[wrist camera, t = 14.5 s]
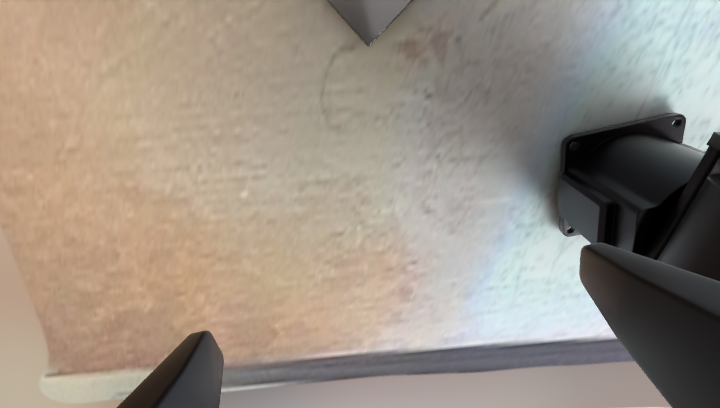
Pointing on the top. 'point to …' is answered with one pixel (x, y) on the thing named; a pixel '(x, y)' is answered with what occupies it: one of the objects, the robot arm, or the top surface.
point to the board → (369, 15)
